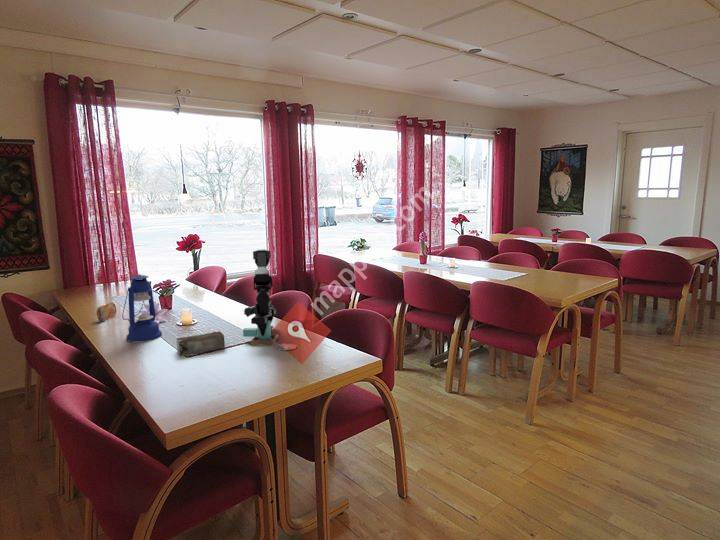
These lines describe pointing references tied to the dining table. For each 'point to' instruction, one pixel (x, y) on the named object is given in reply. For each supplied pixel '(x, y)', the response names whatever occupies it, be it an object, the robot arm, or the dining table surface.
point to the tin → (106, 311)
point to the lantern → (145, 323)
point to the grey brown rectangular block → (200, 343)
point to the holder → (262, 342)
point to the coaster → (283, 347)
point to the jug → (253, 332)
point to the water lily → (157, 316)
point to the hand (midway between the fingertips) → (264, 333)
